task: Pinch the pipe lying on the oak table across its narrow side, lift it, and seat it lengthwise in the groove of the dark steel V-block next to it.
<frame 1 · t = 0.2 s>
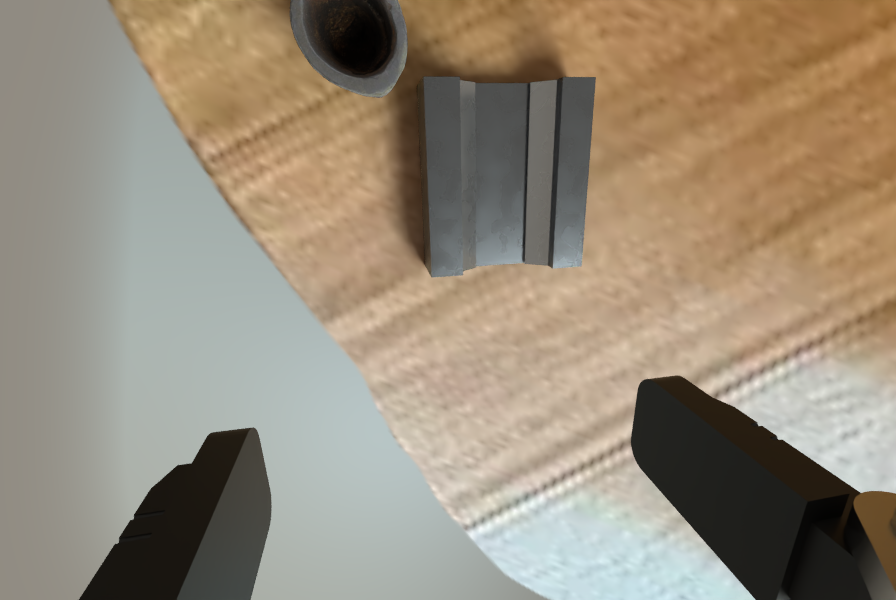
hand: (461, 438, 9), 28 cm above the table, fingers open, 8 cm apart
pipe: (333, 24, 30), on the table
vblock: (495, 179, 35), on the table
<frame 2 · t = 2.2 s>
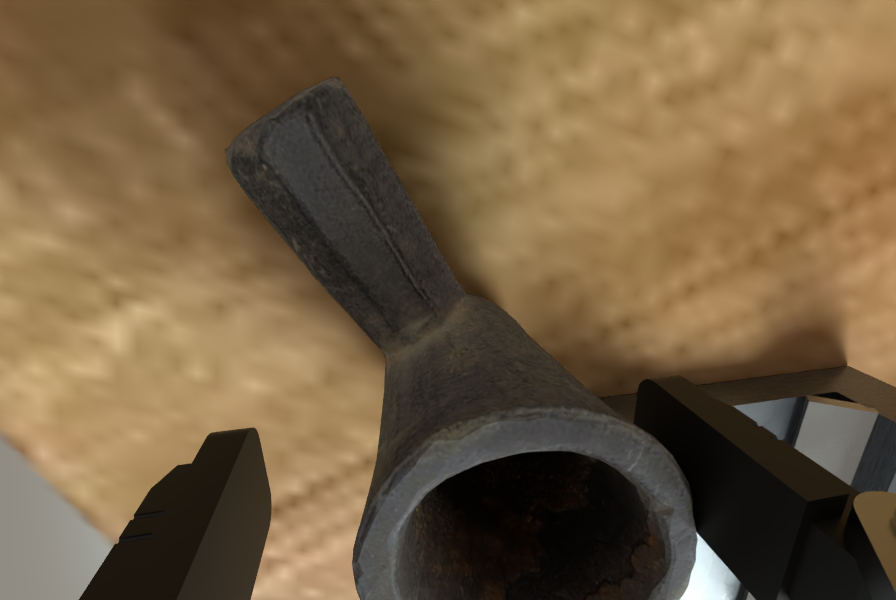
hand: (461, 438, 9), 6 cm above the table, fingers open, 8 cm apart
pipe: (415, 304, 14), on the table, touching gripper
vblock: (690, 514, 20), on the table
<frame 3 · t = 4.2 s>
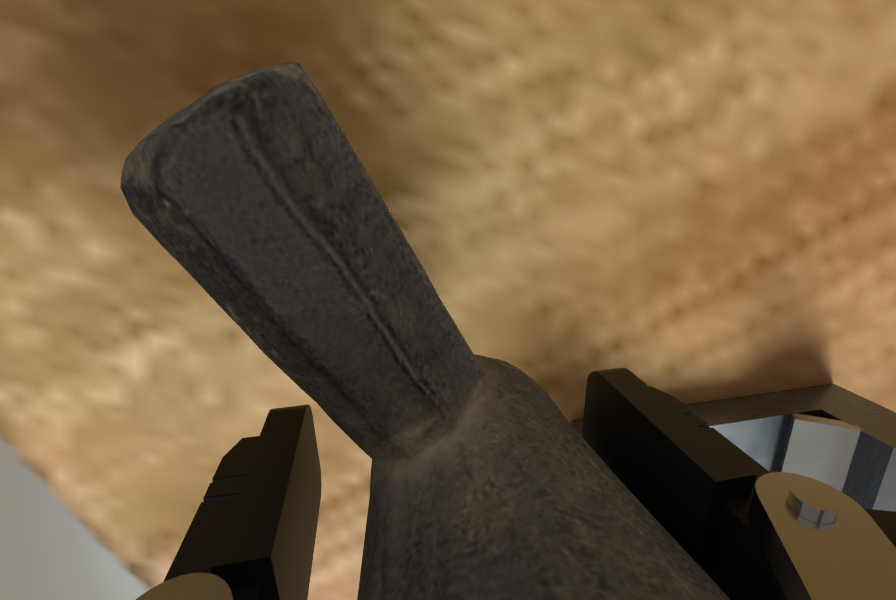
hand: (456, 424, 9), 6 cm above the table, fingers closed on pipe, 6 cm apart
pipe: (413, 364, 11), point 4 cm above the table, touching gripper
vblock: (687, 531, 20), on the table
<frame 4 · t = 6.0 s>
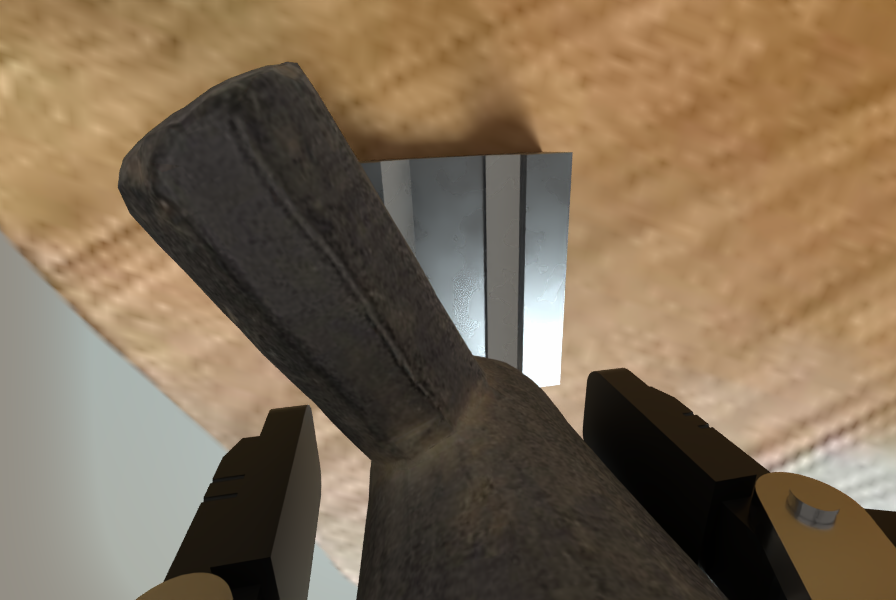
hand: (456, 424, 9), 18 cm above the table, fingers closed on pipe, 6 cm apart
pipe: (412, 365, 11), point 16 cm above the table, touching gripper
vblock: (447, 271, 27), on the table
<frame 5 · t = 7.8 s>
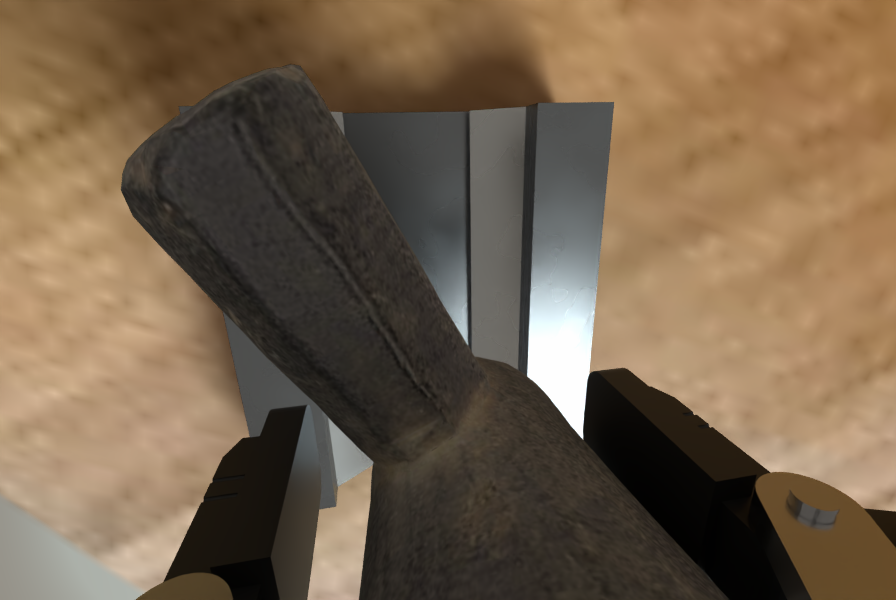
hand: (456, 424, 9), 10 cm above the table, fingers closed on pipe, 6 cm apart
pipe: (414, 366, 11), point 8 cm above the table, touching gripper
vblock: (413, 292, 18), on the table
when the fingers open (6 cm above the table, at t = 9.0 s): pipe drops 2 cm, resting on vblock.
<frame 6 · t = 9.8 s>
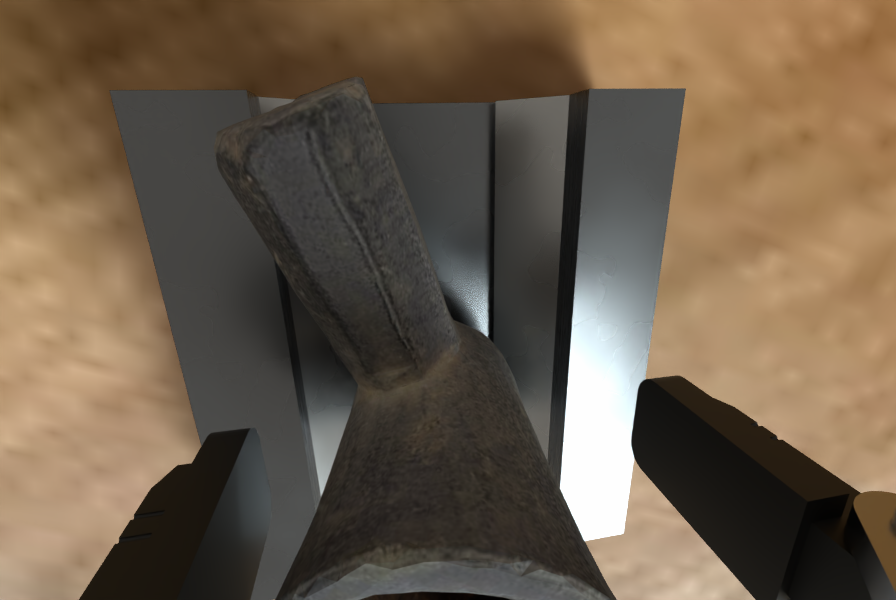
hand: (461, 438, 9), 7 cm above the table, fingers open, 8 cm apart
pipe: (407, 317, 13), point 2 cm above the table, touching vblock
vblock: (421, 321, 15), on the table
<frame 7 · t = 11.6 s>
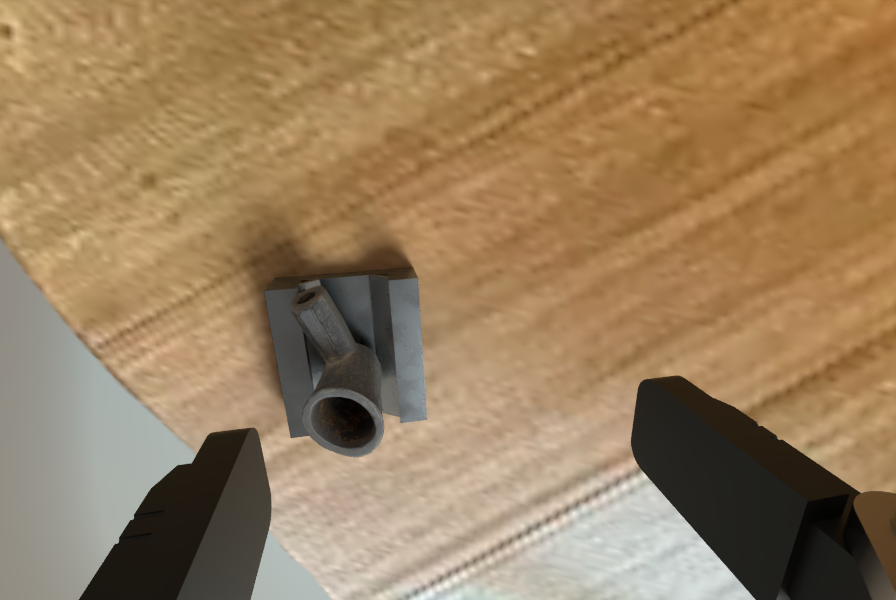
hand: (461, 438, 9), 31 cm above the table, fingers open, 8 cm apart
pipe: (344, 342, 39), point 2 cm above the table, touching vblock
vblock: (353, 342, 41), on the table
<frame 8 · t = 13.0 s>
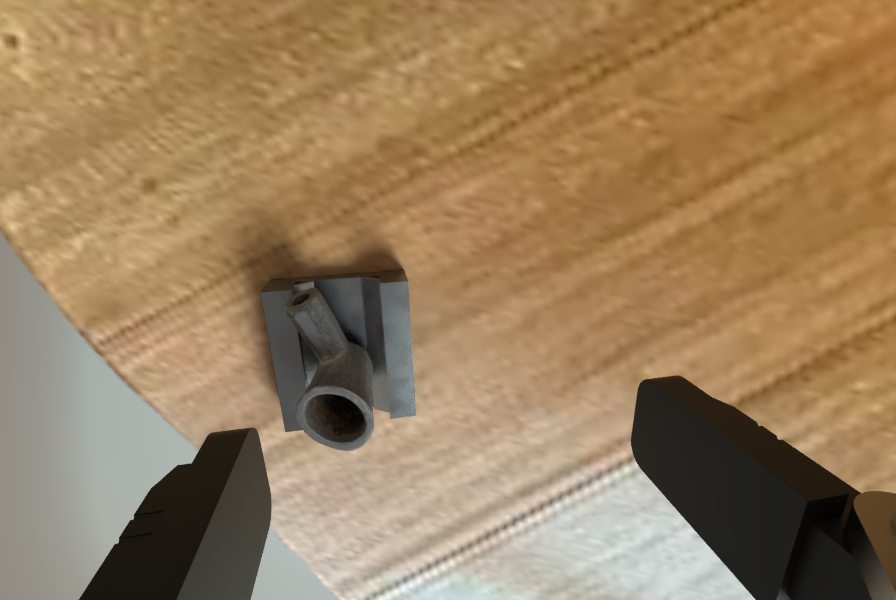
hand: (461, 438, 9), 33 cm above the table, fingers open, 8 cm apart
pipe: (337, 341, 41), point 2 cm above the table, touching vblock
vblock: (346, 341, 43), on the table
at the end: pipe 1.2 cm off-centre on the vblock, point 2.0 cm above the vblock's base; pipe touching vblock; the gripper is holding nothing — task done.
